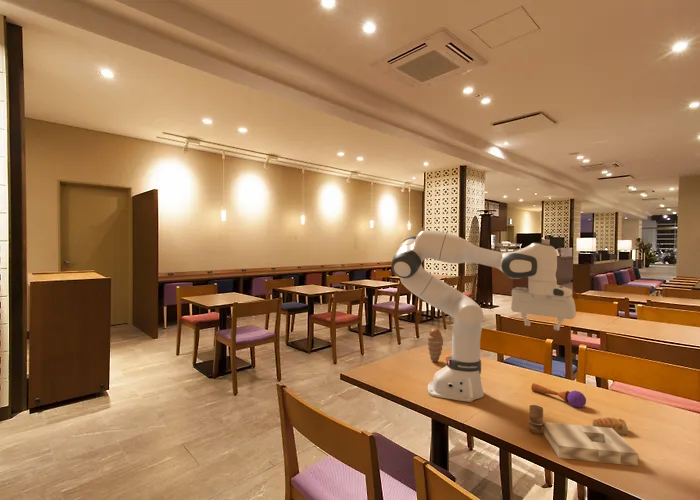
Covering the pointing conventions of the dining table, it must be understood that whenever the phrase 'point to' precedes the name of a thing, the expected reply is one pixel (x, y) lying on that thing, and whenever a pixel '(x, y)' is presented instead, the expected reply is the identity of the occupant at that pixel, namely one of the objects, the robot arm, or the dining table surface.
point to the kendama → (563, 395)
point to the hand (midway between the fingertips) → (541, 327)
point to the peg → (536, 419)
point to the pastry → (612, 424)
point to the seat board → (589, 443)
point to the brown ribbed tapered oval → (435, 344)
